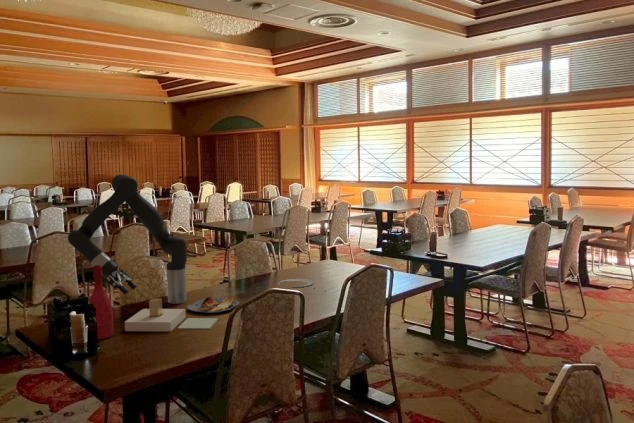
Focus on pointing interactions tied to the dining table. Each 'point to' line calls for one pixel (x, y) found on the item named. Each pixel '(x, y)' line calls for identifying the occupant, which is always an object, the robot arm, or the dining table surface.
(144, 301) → the dining table surface
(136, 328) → the cover plate
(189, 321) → the green pad
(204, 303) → the food plate
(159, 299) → the tan rectangular block
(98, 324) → the wine bottle
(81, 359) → the dining table surface
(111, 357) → the dining table surface
